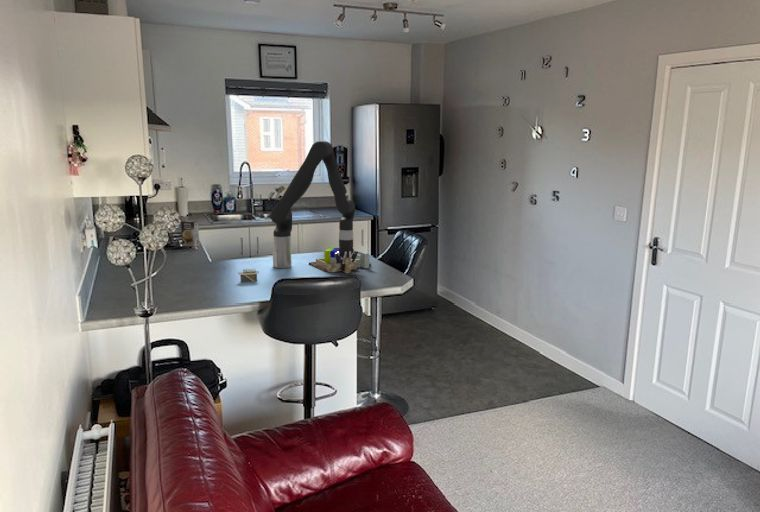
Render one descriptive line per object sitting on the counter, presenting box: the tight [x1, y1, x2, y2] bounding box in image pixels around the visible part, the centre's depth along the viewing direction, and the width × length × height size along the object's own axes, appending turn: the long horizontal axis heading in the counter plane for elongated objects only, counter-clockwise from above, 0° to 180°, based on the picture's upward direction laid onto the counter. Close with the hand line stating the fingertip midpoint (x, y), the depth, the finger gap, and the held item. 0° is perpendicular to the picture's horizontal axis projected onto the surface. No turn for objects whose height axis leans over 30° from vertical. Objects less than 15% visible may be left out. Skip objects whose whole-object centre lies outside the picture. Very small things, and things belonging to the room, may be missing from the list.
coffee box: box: [180, 219, 200, 247], centre depth 363 cm, size 9×6×16 cm
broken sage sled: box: [351, 251, 370, 269], centre depth 315 cm, size 9×22×8 cm, turn 32°
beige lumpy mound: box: [315, 257, 357, 274], centre depth 303 cm, size 16×23×8 cm
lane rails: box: [308, 261, 372, 272], centre depth 314 cm, size 29×19×1 cm, turn 122°
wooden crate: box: [237, 268, 260, 283], centre depth 276 cm, size 12×18×7 cm, turn 109°
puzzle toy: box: [323, 247, 341, 264], centre depth 306 cm, size 10×10×10 cm
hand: (346, 270), depth 297 cm, fingers closed on beige lumpy mound, 2 cm apart
